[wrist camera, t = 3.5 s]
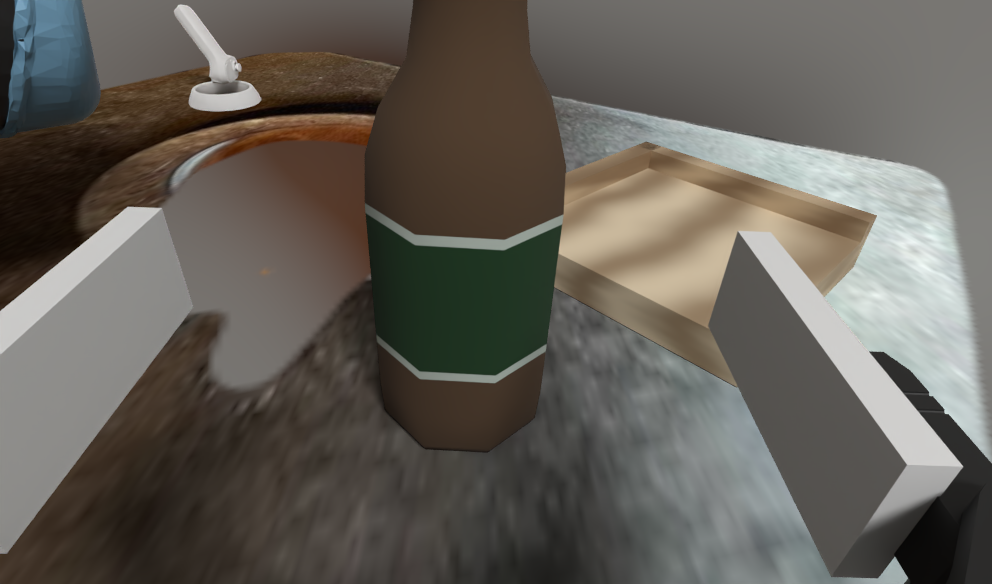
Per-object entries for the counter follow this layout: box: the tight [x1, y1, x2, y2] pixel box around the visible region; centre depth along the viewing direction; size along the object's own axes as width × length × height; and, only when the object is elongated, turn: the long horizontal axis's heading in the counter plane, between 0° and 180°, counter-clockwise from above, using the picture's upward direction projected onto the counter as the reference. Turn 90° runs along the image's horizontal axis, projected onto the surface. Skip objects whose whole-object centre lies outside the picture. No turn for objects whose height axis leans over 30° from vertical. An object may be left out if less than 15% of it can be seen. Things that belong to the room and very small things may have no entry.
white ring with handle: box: [174, 5, 261, 111], centre depth 65 cm, size 8×12×7 cm
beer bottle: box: [365, 0, 566, 452], centre depth 21 cm, size 8×8×24 cm
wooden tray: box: [554, 142, 877, 387], centre depth 39 cm, size 18×18×4 cm
